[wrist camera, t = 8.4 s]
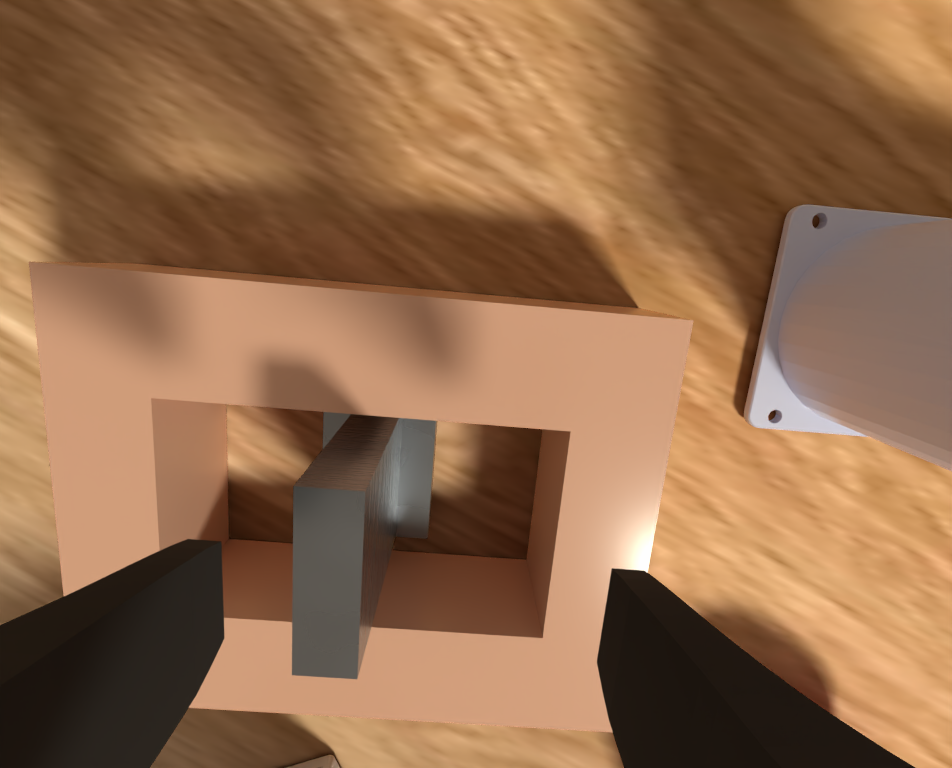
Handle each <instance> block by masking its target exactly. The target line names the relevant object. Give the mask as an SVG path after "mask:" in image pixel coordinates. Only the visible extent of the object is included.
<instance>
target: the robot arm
mask: <svg viewBox="0 0 952 768" xmlns="http://www.w3.org/2000/svg"><path fill="white" fill-rule="evenodd" d="M815 215H817V216H818V217H819V225H818V227H816V228H814V226H813V225H812V219H813V217H814V216H815ZM773 410H776V415H775V417H774V418H773V419H771V420H768V415H769V413H770V412H771V411H773ZM744 418H745V420H746V422H747V423H749V424H750V425H752V426H754V427H757V428H766V429H778V430H791V431H803V432H815V433H828V434H840V435H853V436H865V437H871V438H873V439H876V440H878V441H880V442H883V443H885V444H888V445H890V446H892V447H895V448H897V449H900V450H902V451H904V452H907V453H909V454H912V455H914V456H916V457H919V458H921V459H924V460H926V461H928V462H931V463H933V464H936V465H938V466H940V467H943V468H945V469H948V470H950V471H952V218H942V217H932V216H922V215H912V214H901V213H891V212H881V211H871V210H860V209H850V208H840V207H830V206H819V205H809V204H807V205H800V206H796V207H794V208H792V209H791V210H790V211H789V212H788V213H787V216H786V218H785V222H784V227H783V231H782V236H781V241H780V245H779V250H778V255H777V259H776V264H775V269H774V273H773V278H772V283H771V288H770V292H769V297H768V302H767V306H766V311H765V316H764V320H763V325H762V330H761V334H760V339H759V344H758V348H757V353H756V358H755V363H754V367H753V372H752V377H751V381H750V386H749V391H748V395H747V400H746V405H745V409H744ZM223 640H224V606H223V575H222V543H221V541H209V540H195V539H187V540H184V541H181V542H179V543H176V544H174V545H171V546H169V547H167V548H164V549H162V550H160V551H158V552H156V553H154V554H151V555H149V556H147V557H145V558H143V559H141V560H139V561H137V562H135V563H133V564H131V565H128V566H126V567H124V568H122V569H120V570H118V571H116V572H114V573H112V574H110V575H108V576H106V577H104V578H102V579H100V580H97V581H95V582H93V583H91V584H89V585H87V586H85V587H83V588H81V589H79V590H77V591H75V592H73V593H70V594H68V595H66V596H64V597H62V598H60V599H58V600H56V601H53V602H51V603H49V604H47V605H45V606H42V607H40V608H38V609H36V610H33V611H31V612H29V613H27V614H25V615H22V616H20V617H18V618H16V619H13V620H11V621H9V622H7V623H5V624H2V625H0V768H150V767H151V765H152V764H153V762H154V761H155V759H156V757H157V756H158V754H159V753H160V751H161V750H162V748H163V747H164V745H165V744H166V742H167V741H168V739H169V737H170V736H171V734H172V733H173V731H174V730H175V728H176V727H177V725H178V723H179V722H180V720H181V719H182V717H183V716H184V714H185V713H186V711H187V709H188V708H189V706H190V705H191V703H192V701H193V700H194V698H195V697H196V695H197V693H198V691H199V689H200V687H201V685H202V683H203V681H204V679H205V678H206V676H207V674H208V672H209V670H210V668H211V666H212V664H213V661H214V659H215V657H216V655H217V653H218V651H219V649H220V647H221V645H222V643H223ZM597 666H598V671H599V676H600V681H601V686H602V691H603V696H604V700H605V705H606V709H607V714H608V718H609V722H610V725H611V728H612V731H613V735H614V738H615V741H616V744H617V747H618V750H619V753H620V756H621V759H622V762H623V765H624V768H915V767H913V766H912V765H910V764H908V763H907V762H905V761H903V760H902V759H900V758H898V757H897V756H895V755H894V754H892V753H890V752H889V751H887V750H885V749H884V748H882V747H881V746H879V745H878V744H876V743H875V742H873V741H872V740H870V739H868V738H867V737H865V736H864V735H862V734H861V733H859V732H858V731H856V730H855V729H853V728H852V727H850V726H849V725H847V724H845V723H844V722H842V721H841V720H839V719H838V718H836V717H835V716H833V715H832V714H830V713H829V712H827V711H826V710H824V709H823V708H821V707H820V706H818V705H817V704H816V703H814V702H813V701H811V700H810V699H808V698H807V697H806V696H804V695H803V694H801V693H800V692H799V691H797V690H796V689H795V688H793V687H792V686H790V685H789V684H788V683H786V682H785V681H784V680H782V679H781V678H780V677H778V676H777V675H775V674H774V673H773V672H771V671H770V670H769V669H767V668H766V667H765V666H763V665H762V664H761V663H759V662H758V661H757V660H755V659H754V658H753V657H752V656H750V655H749V654H748V653H746V652H745V651H744V650H743V649H741V648H740V647H739V646H737V645H736V644H735V643H734V642H732V641H731V640H730V639H729V638H727V637H726V636H725V635H724V634H722V633H721V632H720V631H719V630H718V629H716V628H715V627H714V626H713V625H711V624H710V623H709V622H708V621H707V620H705V619H704V618H703V617H702V616H700V615H699V614H698V613H697V612H696V611H694V610H693V609H692V608H691V607H690V606H688V605H687V604H686V603H685V602H684V601H682V600H681V599H680V598H679V597H677V596H676V595H675V594H674V593H673V592H671V591H670V590H669V589H668V588H667V587H665V586H664V585H663V584H662V583H660V582H659V581H658V580H656V579H655V578H654V577H653V576H651V575H650V574H648V573H647V572H646V571H644V570H629V569H615V568H612V570H611V576H610V582H609V589H608V595H607V601H606V607H605V614H604V620H603V626H602V632H601V638H600V645H599V651H598V657H597Z"/></svg>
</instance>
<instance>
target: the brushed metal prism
mask: <svg viewBox="0 0 952 768" xmlns="http://www.w3.org/2000/svg"><path fill="white" fill-rule="evenodd" d="M436 432H437V421H433V420H420V419H408V418H395V417H382V416H370V415H357V414H345V413H332V412H324V418H323V450H322V451H321V452H320V454H319V455H318V456H317V457H316V459H315V460H314V461H313V462H312V464H311V465H310V466H309V467H308V469H307V470H306V471H305V472H304V474H303V475H302V476H301V477H300V479H299V480H298V481H297V482H296V484H295V485H294V486H293V596H292V675H295V676H311V677H327V678H344V679H358V675H359V671H360V668H361V664H362V660H363V656H364V653H365V649H366V645H367V642H368V638H369V634H370V630H371V627H372V623H373V619H374V615H375V612H376V608H377V604H378V600H379V597H380V593H381V589H382V586H383V582H384V578H385V574H386V571H387V567H388V563H389V559H390V556H391V552H392V548H393V544H394V541H395V537H410V538H424V539H427V538H428V531H429V525H430V512H431V499H432V485H433V472H434V459H435V445H436Z"/></svg>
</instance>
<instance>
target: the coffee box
mask: <svg viewBox="0 0 952 768" xmlns="http://www.w3.org/2000/svg"><path fill="white" fill-rule="evenodd" d="M286 768H340V767H339V765H338V763H337V761H336V759H335V757H334V756H333V755H327V756H323V757H320V758H316V759H313V760H309V761H306V762H303V763H300V764H296V765H293V766H290V767H286Z"/></svg>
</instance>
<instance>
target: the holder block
mask: <svg viewBox="0 0 952 768" xmlns="http://www.w3.org/2000/svg"><path fill="white" fill-rule="evenodd" d="M29 268H30V278H31V287H32V297H33V307H34V316H35V326H36V335H37V345H38V355H39V364H40V374H41V383H42V393H43V403H44V412H45V422H46V432H47V441H48V451H49V460H50V470H51V480H52V489H53V499H54V508H55V518H56V528H57V537H58V547H59V557H60V566H61V576H62V585H63V595H64V596H66V595H68V594H70V593H73V592H75V591H77V590H79V589H81V588H83V587H85V586H87V585H89V584H91V583H93V582H95V581H97V580H100V579H102V578H104V577H106V576H108V575H110V574H112V573H114V572H116V571H118V570H120V569H122V568H124V567H126V566H128V565H131V564H133V563H135V562H137V561H139V560H141V559H143V558H145V557H147V556H149V555H151V554H154V553H156V552H158V551H160V550H162V549H164V548H167V547H169V546H171V545H174V544H176V543H179V542H181V541H184V540H187V539H195V540H209V541H221V543H222V575H223V606H224V640H223V643H222V645H221V647H220V649H219V651H218V653H217V655H216V657H215V659H214V661H213V664H212V666H211V668H210V670H209V672H208V674H207V676H206V678H205V679H204V681H203V683H202V685H201V687H200V689H199V691H198V693H197V695H196V697H195V698H194V700H193V701H192V703H191V705H190V706H189V708H200V709H218V710H235V711H252V712H269V713H287V714H304V715H321V716H339V717H356V718H373V719H391V720H408V721H425V722H442V723H460V724H477V725H494V726H512V727H529V728H546V729H564V730H581V731H598V732H613V731H612V728H611V725H610V722H609V718H608V714H607V709H606V705H605V700H604V696H603V691H602V686H601V681H600V676H599V671H598V666H597V657H598V651H599V645H600V638H601V632H602V626H603V620H604V614H605V607H606V601H607V595H608V589H609V582H610V576H611V570H612V568H615V569H629V570H644V571H646V572H648V567H649V561H650V556H651V550H652V545H653V539H654V534H655V528H656V523H657V517H658V512H659V506H660V501H661V496H662V490H663V485H664V479H665V474H666V468H667V463H668V457H669V452H670V446H671V441H672V435H673V430H674V424H675V419H676V414H677V408H678V403H679V397H680V392H681V386H682V381H683V375H684V370H685V364H686V359H687V353H688V348H689V342H690V337H691V331H692V326H693V321H694V320H690V319H685V318H681V317H676V316H672V315H667V314H663V313H659V312H654V311H650V310H645V309H641V308H632V307H620V306H609V305H598V304H587V303H575V302H564V301H553V300H542V299H530V298H519V297H508V296H497V295H485V294H474V293H463V292H452V291H440V290H429V289H418V288H407V287H395V286H384V285H373V284H362V283H350V282H339V281H328V280H317V279H305V278H294V277H283V276H272V275H260V274H249V273H238V272H227V271H215V270H204V269H193V268H182V267H170V266H159V265H148V264H136V263H78V262H29ZM226 404H231V405H244V406H257V407H269V408H282V409H294V410H307V411H320V412H332V413H345V414H357V415H370V416H382V417H395V418H408V419H420V420H433V421H445V422H458V423H470V424H483V425H496V426H508V427H521V428H533V429H543V430H542V438H541V446H540V454H539V462H538V471H537V479H536V487H535V495H534V503H533V511H532V519H531V527H530V536H529V544H528V552H527V560H523V559H509V558H495V557H480V556H466V555H452V554H437V553H423V552H409V551H395V550H392V552H391V556H390V559H389V563H388V567H387V571H386V574H385V578H384V582H383V586H382V589H381V593H380V597H379V600H378V604H377V608H376V612H375V615H374V619H373V623H372V627H371V630H370V634H369V638H368V642H367V645H366V649H365V653H364V656H363V660H362V664H361V668H360V671H359V675H358V679H344V678H327V677H311V676H295V675H292V596H293V543H280V542H266V541H252V540H237V539H229V513H228V466H227V420H226Z"/></svg>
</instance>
